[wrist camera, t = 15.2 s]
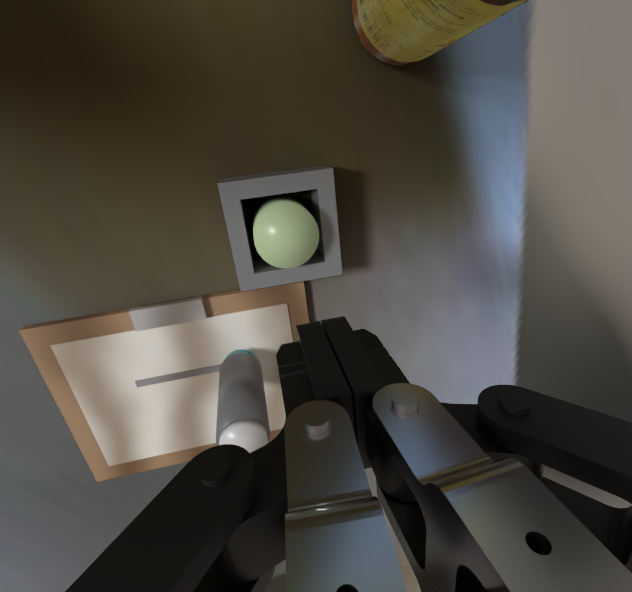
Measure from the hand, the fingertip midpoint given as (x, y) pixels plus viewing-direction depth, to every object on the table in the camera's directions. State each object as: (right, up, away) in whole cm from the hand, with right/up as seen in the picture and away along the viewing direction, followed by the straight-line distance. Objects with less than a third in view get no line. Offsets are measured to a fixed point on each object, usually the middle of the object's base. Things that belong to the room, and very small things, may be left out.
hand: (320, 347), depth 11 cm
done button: (-2, +6, +14) cm, 16 cm away
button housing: (-3, +7, +15) cm, 16 cm away
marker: (-6, -4, +18) cm, 19 cm away
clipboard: (-10, -6, +18) cm, 22 cm away
